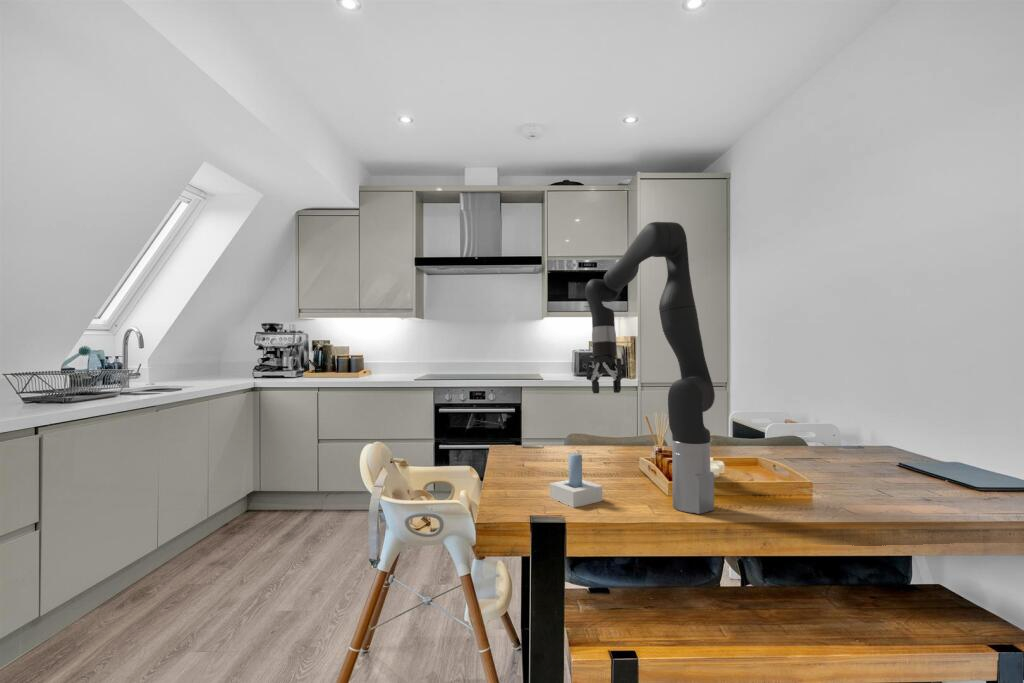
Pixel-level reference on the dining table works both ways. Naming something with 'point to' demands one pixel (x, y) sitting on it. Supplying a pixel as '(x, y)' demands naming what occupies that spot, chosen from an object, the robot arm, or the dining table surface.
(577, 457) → the peg
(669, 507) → the dining table surface
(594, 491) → the socket
